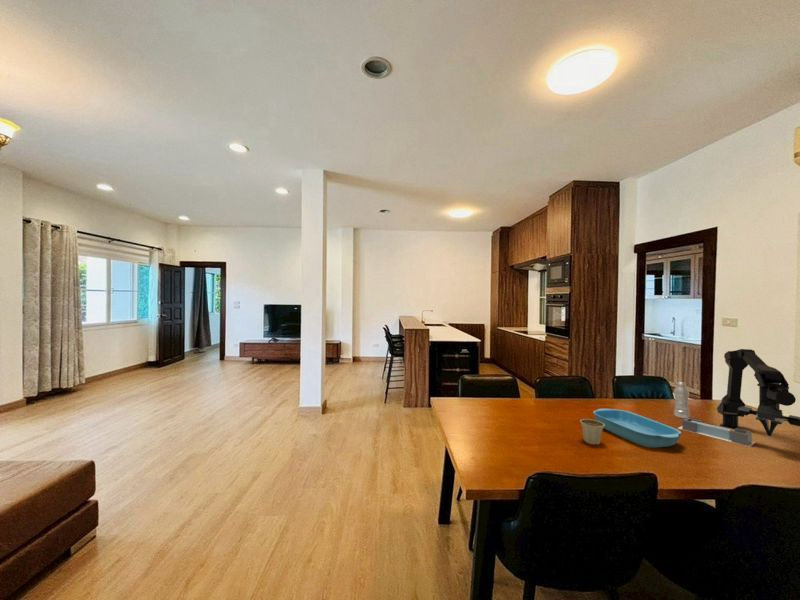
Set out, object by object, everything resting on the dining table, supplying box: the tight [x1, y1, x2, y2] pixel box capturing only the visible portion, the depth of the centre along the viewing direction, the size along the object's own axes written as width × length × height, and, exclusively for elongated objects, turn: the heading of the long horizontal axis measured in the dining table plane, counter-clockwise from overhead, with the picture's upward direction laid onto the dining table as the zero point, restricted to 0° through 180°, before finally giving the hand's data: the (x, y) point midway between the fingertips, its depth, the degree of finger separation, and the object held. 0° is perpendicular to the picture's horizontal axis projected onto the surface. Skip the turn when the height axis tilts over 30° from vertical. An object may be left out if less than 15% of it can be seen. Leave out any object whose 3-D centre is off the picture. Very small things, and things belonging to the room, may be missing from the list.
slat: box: [691, 421, 732, 440], centre depth 155 cm, size 4×14×4 cm, turn 34°
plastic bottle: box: [673, 380, 691, 420], centre depth 179 cm, size 6×7×20 cm
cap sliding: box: [731, 428, 753, 446], centre depth 146 cm, size 7×5×4 cm
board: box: [677, 425, 756, 448], centre depth 153 cm, size 9×25×1 cm, turn 34°
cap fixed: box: [681, 417, 702, 434], centre depth 160 cm, size 7×5×4 cm
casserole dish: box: [593, 408, 682, 449], centre depth 154 cm, size 37×22×7 cm, turn 12°
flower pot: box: [579, 418, 605, 445], centre depth 145 cm, size 9×9×9 cm
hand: (769, 435), depth 139 cm, fingers closed
